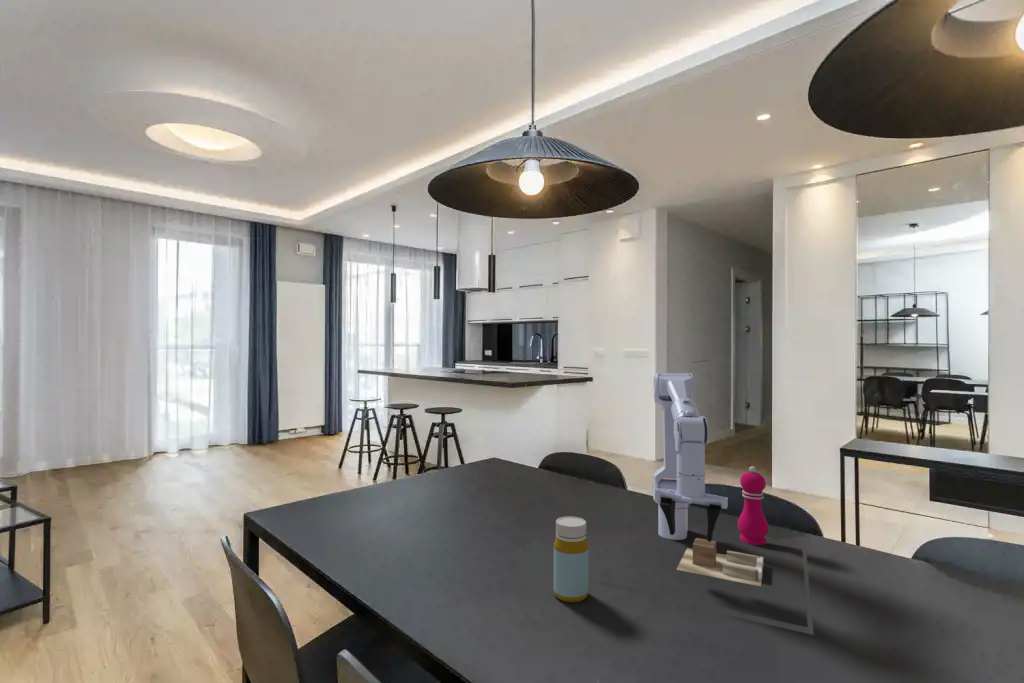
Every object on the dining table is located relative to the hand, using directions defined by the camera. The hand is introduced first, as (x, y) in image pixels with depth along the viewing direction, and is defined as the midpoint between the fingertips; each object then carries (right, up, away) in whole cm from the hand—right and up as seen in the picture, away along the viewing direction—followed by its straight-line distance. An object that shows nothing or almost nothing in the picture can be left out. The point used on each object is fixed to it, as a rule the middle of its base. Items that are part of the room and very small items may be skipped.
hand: (690, 536), depth 109 cm
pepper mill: (+24, -11, +22) cm, 34 cm away
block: (+6, -9, +8) cm, 14 cm away
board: (+9, -10, +7) cm, 15 cm away
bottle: (-26, -10, -5) cm, 29 cm away
